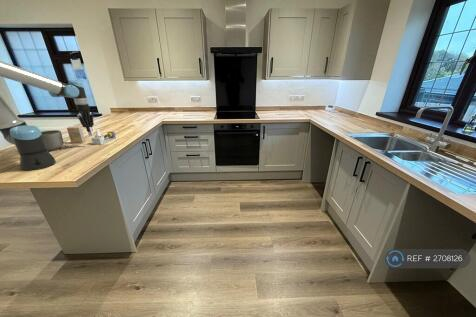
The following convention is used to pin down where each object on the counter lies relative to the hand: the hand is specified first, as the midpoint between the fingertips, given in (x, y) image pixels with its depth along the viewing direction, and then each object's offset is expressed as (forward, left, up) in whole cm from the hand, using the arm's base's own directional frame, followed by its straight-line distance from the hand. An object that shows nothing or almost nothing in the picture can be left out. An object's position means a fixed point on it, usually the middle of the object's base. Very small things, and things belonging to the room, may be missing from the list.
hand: (91, 135), depth 149 cm
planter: (-12, +22, -9) cm, 26 cm away
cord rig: (+12, 0, -8) cm, 15 cm away
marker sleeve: (+7, 0, -7) cm, 10 cm away
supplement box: (+6, +19, -9) cm, 22 cm away
